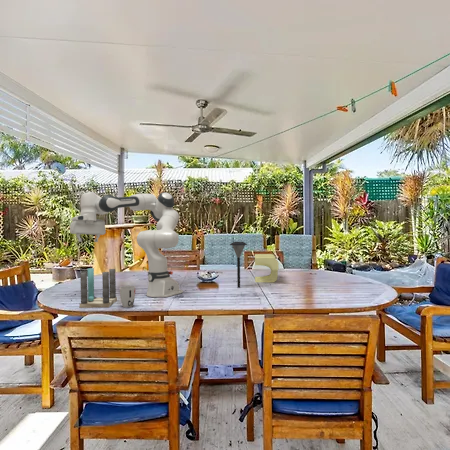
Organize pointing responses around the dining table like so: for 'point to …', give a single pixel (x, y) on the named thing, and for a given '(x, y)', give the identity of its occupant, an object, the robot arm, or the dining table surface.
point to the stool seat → (105, 300)
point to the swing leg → (90, 284)
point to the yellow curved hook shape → (267, 261)
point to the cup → (127, 296)
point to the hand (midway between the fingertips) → (88, 241)
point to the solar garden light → (238, 257)
